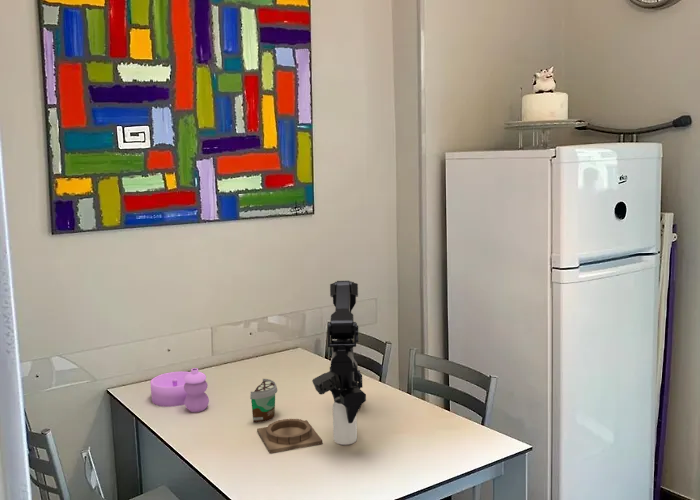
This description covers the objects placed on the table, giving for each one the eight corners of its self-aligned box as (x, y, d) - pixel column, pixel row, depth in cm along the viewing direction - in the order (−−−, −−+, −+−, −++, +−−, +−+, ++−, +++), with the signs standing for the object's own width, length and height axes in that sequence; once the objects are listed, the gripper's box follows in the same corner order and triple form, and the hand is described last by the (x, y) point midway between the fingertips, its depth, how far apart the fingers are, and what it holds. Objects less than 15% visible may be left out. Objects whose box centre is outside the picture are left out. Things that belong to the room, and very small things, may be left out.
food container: (271, 425, 208) (269, 393, 206) (251, 424, 209) (249, 392, 208) (283, 409, 220) (282, 378, 218) (264, 408, 221) (263, 377, 219)
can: (360, 437, 199) (359, 396, 197) (352, 447, 193) (351, 405, 191) (338, 434, 201) (337, 394, 199) (330, 444, 195) (329, 402, 193)
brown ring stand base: (306, 423, 209) (306, 413, 208) (322, 443, 195) (322, 433, 195) (257, 431, 204) (256, 422, 203) (269, 453, 190) (269, 443, 190)
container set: (143, 398, 233) (140, 359, 230) (185, 386, 243) (182, 349, 240) (181, 419, 214) (178, 378, 212) (224, 405, 224) (222, 366, 222)
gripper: (305, 356, 199) (307, 409, 202) (325, 377, 182) (327, 435, 184) (342, 351, 203) (343, 403, 205) (366, 371, 185) (367, 427, 188)
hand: (344, 416), depth 196 cm, fingers open, 9 cm apart
